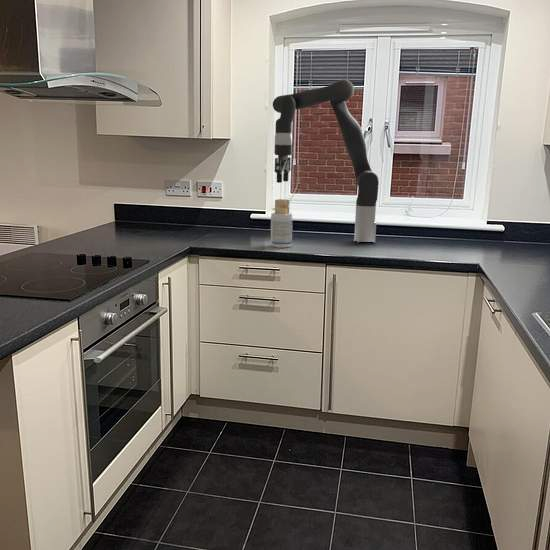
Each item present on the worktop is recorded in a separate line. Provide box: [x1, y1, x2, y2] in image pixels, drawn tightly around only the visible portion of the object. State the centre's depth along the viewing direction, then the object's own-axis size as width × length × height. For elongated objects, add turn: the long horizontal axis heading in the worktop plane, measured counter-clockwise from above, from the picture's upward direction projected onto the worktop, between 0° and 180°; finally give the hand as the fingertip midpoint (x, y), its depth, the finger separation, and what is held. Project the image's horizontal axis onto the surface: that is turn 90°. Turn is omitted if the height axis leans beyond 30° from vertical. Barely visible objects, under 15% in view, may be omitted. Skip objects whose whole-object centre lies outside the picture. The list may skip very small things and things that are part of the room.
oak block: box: [274, 198, 290, 214], centre depth 257 cm, size 5×5×6 cm
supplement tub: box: [270, 212, 293, 249], centre depth 259 cm, size 10×10×15 cm
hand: (282, 182), depth 255 cm, fingers open, 8 cm apart
